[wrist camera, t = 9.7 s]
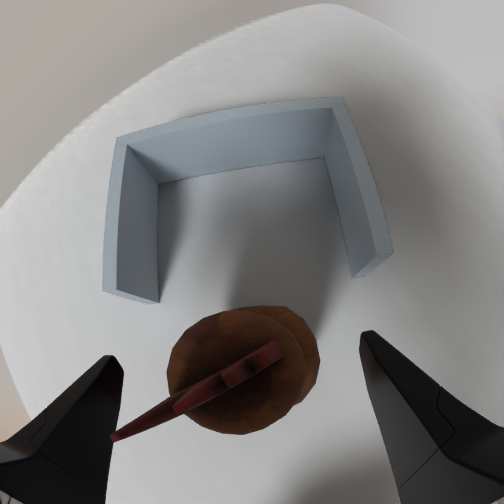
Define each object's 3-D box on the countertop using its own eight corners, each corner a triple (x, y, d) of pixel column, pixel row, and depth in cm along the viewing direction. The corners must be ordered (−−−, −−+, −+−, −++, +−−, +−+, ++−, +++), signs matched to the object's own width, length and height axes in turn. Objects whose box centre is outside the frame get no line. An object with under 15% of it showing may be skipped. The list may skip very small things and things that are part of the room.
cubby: (365, 276, 20) (393, 252, 14) (147, 304, 21) (102, 291, 15) (332, 146, 23) (342, 96, 17) (148, 177, 24) (116, 137, 18)
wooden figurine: (219, 402, 18) (86, 506, 4) (204, 322, 20) (42, 283, 6) (316, 386, 18) (387, 500, 4) (301, 305, 20) (339, 218, 5)
